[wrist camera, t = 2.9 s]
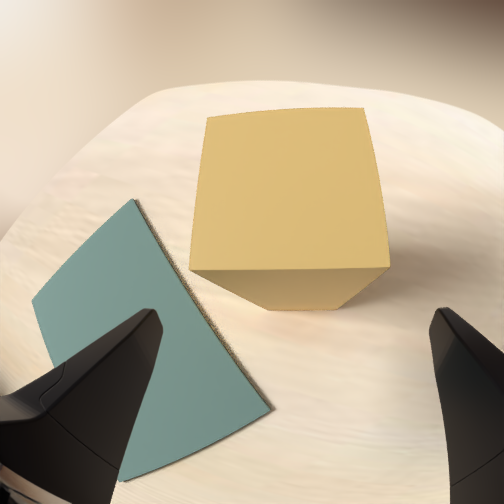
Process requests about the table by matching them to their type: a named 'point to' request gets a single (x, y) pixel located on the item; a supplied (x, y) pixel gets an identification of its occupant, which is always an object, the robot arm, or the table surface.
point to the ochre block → (290, 208)
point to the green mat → (171, 347)
